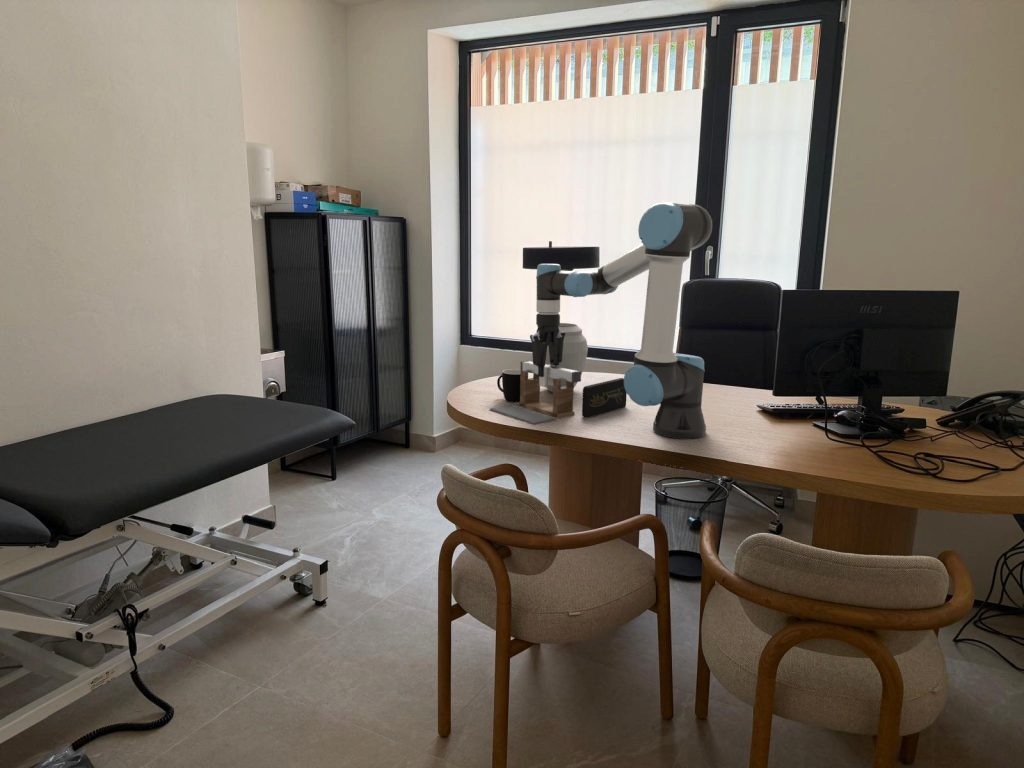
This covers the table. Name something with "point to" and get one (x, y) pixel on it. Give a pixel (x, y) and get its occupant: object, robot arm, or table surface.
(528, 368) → the rail
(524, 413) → the mat
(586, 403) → the nameplate
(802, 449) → the table surface
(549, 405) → the rack
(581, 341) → the vase
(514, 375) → the mug
